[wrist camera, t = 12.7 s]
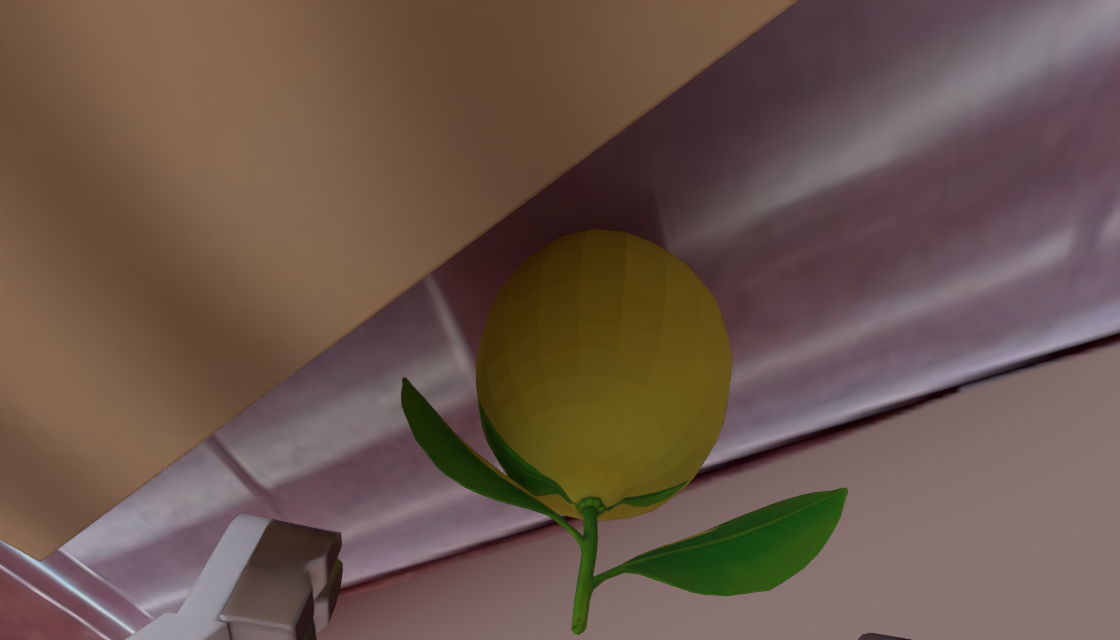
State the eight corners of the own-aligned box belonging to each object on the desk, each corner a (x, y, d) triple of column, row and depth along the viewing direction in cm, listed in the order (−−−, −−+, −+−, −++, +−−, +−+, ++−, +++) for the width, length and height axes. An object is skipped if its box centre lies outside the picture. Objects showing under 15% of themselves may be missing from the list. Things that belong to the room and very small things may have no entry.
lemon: (787, 286, 18) (901, 664, 10) (623, 397, 21) (609, 762, 13) (607, 104, 16) (567, 405, 8) (450, 257, 19) (300, 594, 11)
